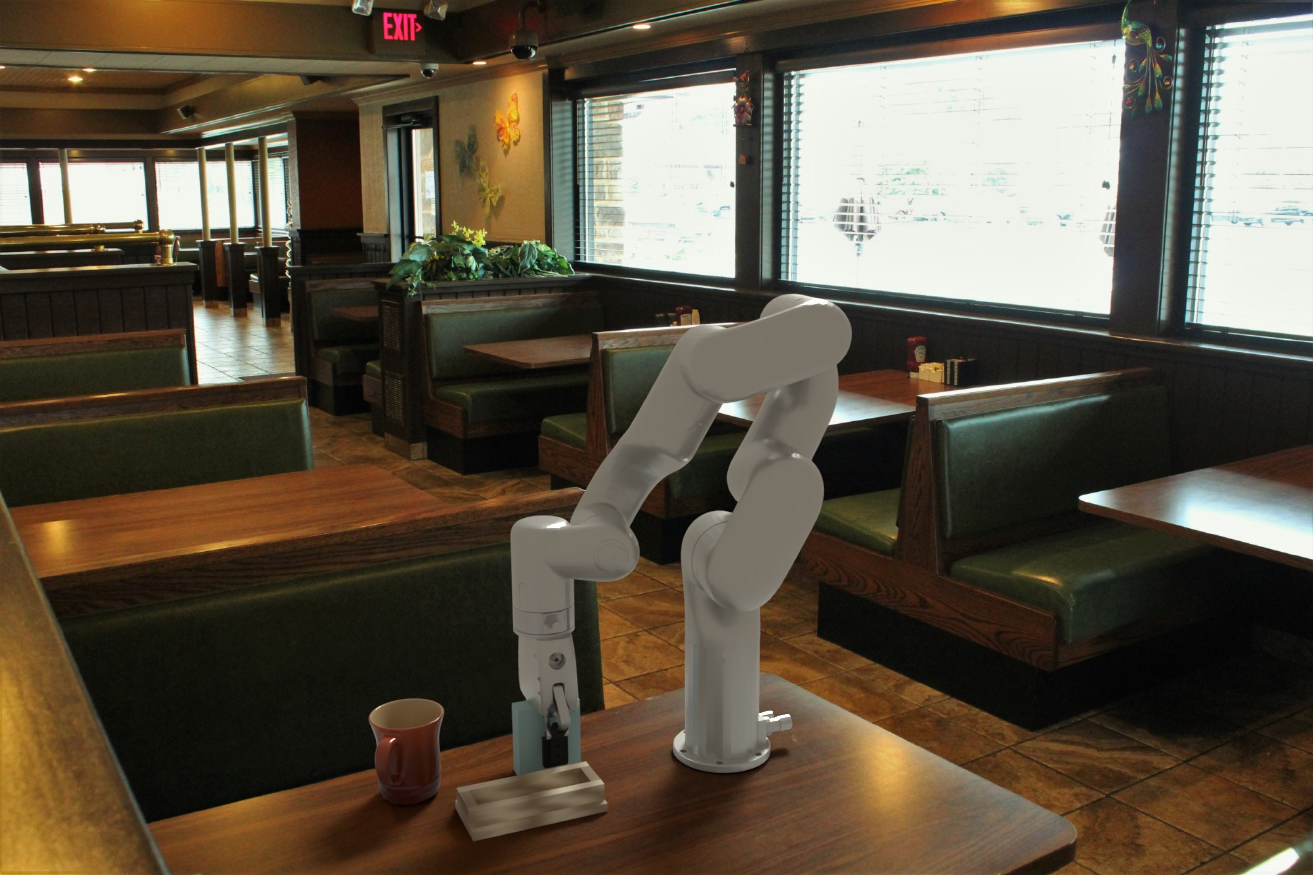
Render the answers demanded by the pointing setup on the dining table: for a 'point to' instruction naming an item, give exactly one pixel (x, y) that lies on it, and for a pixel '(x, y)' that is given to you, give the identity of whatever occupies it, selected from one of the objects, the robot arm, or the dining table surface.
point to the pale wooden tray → (530, 800)
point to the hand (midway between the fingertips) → (547, 753)
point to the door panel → (539, 737)
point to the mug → (407, 749)
